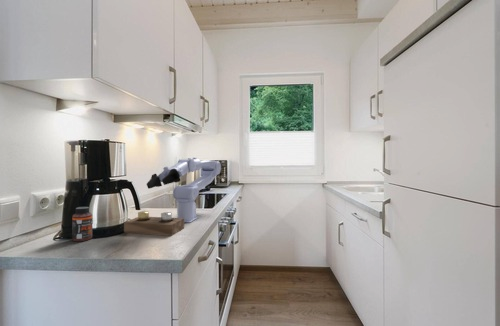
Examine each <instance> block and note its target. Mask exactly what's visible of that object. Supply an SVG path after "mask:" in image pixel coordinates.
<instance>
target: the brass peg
mask: <svg viewBox="0 0 500 326" xmlns="http://www.w3.org/2000/svg"><path fill="white" fill-rule="evenodd" d="M137 217H138V221H148V220H149V217H150V212H149V211H148V210H147V211H146V210H143V211H138V212H137Z"/></svg>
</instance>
